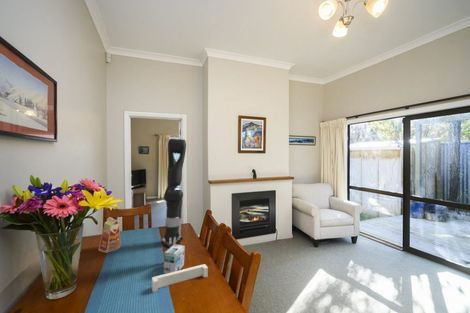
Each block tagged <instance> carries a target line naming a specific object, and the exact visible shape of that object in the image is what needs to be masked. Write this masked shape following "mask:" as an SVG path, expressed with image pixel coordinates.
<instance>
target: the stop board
mask: <svg viewBox="0 0 470 313" xmlns="http://www.w3.org/2000/svg"><path fill="white" fill-rule="evenodd" d="M208 275H209V267H208V266H207V264H205V263H204V264H200V265H196V266H191V267H187V268H184V269H180V270H179V271H175V272H171V273H164V274H160V275H156V276H153V277H151V290H152V293H157V292H158V291H159V289H160V288H163V287H167V286H168V287H169V286H170V285H175V284H177V283H181V282H185V281H189V280H192V279H195V278H199V277H203V278H208Z"/></svg>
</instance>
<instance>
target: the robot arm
mask: <svg viewBox="0 0 470 313" xmlns="http://www.w3.org/2000/svg"><path fill="white" fill-rule="evenodd" d="M186 152H187V140H185V139H183V138H182V139H180V138H169V139H168V142H167V157H168V158H167V159H168V160H167V162H168V163H167V175H166V176H167V180H166V181H167V186H166V189H165V191H164V194H163V199H164V201H165V203H166V213H165V214H166V217H165V227H164V228H165V230H164V236H163V238H161V239H159V241H160V243H161V244H162V245H163V247H165V249H166V250H168V249H169V248H171V247H172V246H173V245H174V244H176V245H181V242H182V241H183V239H184V237H183V236H182V234H181V233H182V210H183V208H182V207H183V197H184V192H183V191H182V190H181V189H176V188H177V187H179V186H181V185H182V178H183V166H184V163H185V158H186ZM174 154H177V155H178V154H179V156H178V159H177V160H176V158H175V155H174Z"/></svg>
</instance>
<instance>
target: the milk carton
mask: <svg viewBox="0 0 470 313" xmlns="http://www.w3.org/2000/svg"><path fill="white" fill-rule="evenodd" d="M120 231H121V229H120V223H119V222H118V220H117V219H114V218H112V217H110V216H109V217H108V219H107V221H105V222H104V225H103V229H102V233H101V238H100V241H99V246H98V251H99V252H102V253H106V254H107V253H109V252H113V251H117V250H118V249H120V248H121V232H120Z"/></svg>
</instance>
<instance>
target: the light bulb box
mask: <svg viewBox="0 0 470 313" xmlns="http://www.w3.org/2000/svg"><path fill="white" fill-rule="evenodd" d="M185 247H186V246H185V245H182V244H179V245H176V244H174V245H173V246H172V247H171V248H169V249H166V251H164V258H163V259H164V261H163V262H164V263H163V273H164V274H167V273H171V272H175V271H179V270H182V268H183V267H184V266H185V251H186V250H185V249H186V248H185Z"/></svg>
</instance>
